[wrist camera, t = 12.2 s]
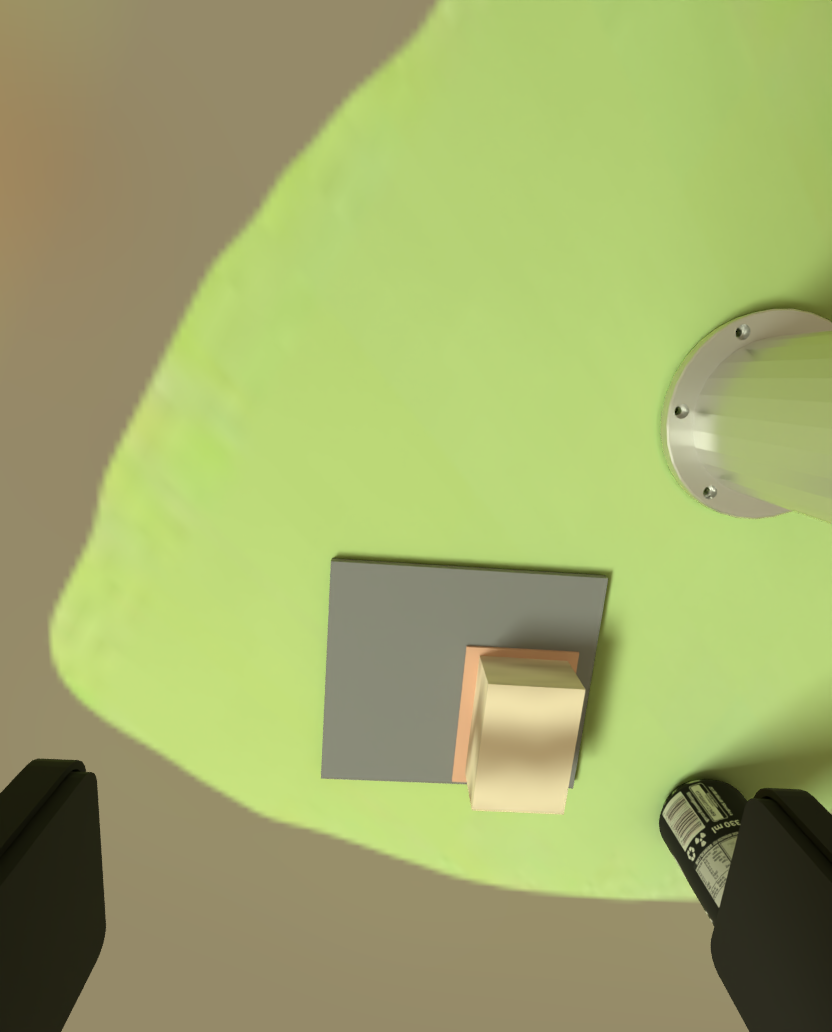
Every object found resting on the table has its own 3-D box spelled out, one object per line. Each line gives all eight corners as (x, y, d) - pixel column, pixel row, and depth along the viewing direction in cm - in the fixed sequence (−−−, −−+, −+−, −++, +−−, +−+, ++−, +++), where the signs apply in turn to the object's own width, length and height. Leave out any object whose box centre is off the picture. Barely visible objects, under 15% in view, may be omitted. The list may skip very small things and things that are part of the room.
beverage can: (729, 849, 43) (853, 1022, 32) (646, 844, 43) (740, 1018, 31) (749, 775, 42) (887, 928, 30) (663, 770, 41) (769, 924, 30)
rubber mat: (604, 575, 38) (609, 579, 37) (570, 782, 41) (573, 790, 41) (332, 558, 37) (330, 562, 36) (322, 772, 40) (320, 780, 40)
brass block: (548, 776, 40) (563, 814, 37) (464, 772, 40) (471, 810, 36) (567, 660, 38) (585, 689, 35) (479, 655, 38) (488, 684, 34)
